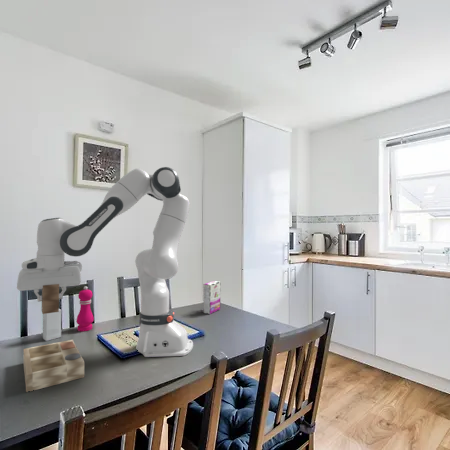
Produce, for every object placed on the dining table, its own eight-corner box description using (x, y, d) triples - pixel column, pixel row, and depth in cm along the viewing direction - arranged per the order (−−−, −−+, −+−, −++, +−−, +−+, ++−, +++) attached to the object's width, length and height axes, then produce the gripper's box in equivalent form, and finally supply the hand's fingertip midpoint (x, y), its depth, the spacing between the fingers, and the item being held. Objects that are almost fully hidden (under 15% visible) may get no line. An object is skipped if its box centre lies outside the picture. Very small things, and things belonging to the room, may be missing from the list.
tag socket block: (72, 352, 114) (72, 338, 114) (84, 377, 96) (84, 360, 96) (23, 363, 105) (23, 348, 105) (26, 392, 87) (26, 374, 87)
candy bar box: (213, 308, 177) (213, 280, 177) (220, 309, 174) (221, 281, 174) (202, 313, 167) (203, 283, 167) (210, 314, 165) (210, 284, 165)
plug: (57, 308, 113) (57, 279, 113) (58, 311, 109) (59, 281, 109) (41, 310, 110) (42, 280, 110) (42, 314, 106) (43, 283, 106)
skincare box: (57, 334, 131) (57, 307, 131) (61, 337, 129) (62, 309, 129) (41, 338, 127) (42, 310, 127) (45, 341, 124) (46, 312, 124)
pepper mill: (86, 332, 135) (87, 288, 135) (72, 331, 136) (73, 287, 136) (96, 327, 142) (97, 285, 142) (83, 325, 143) (83, 284, 143)
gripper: (80, 259, 118) (79, 294, 118) (17, 262, 106) (16, 301, 106) (83, 261, 113) (82, 298, 113) (17, 265, 101) (16, 305, 101)
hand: (50, 299), depth 109 cm, fingers closed on plug, 5 cm apart
